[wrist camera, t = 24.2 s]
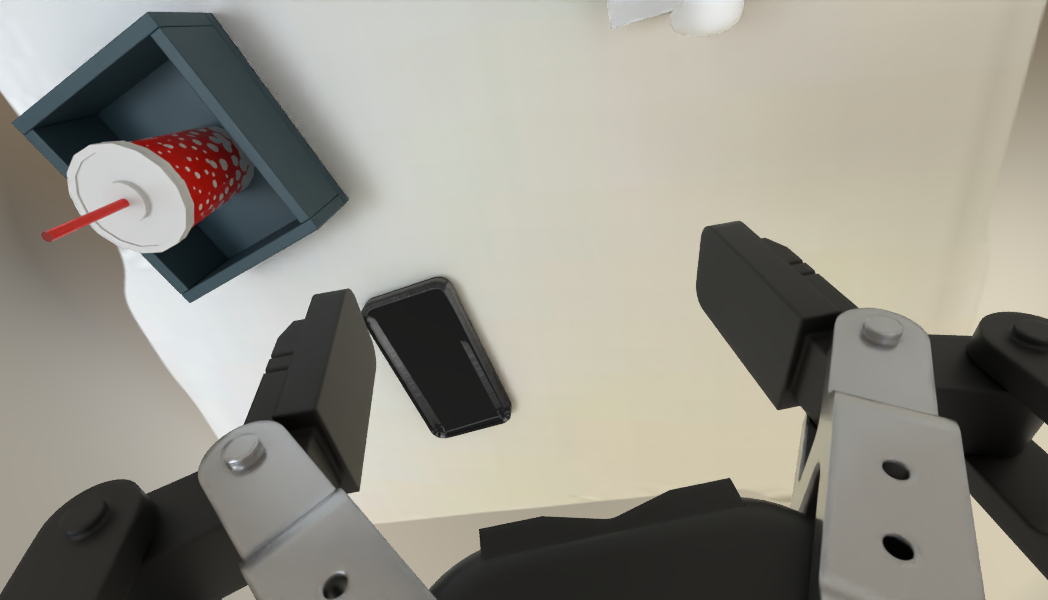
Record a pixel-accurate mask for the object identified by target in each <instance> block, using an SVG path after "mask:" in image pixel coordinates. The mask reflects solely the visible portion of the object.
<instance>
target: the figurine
mask: <svg viewBox="0 0 1048 600" xmlns="http://www.w3.org/2000/svg"><path fill="white" fill-rule="evenodd" d="M606 1H607V7H608V13H609V20H610V26H611V29H614V28H617V27H620V26H624V25H627V24H631V23H634V22H637V21H641V20H644V19H648V18H651V17H654V16H658V15H661V14H665V13H668V12H672V13H671V15H670V26H671V28H672V29H673V30H674V32H676V33H678V34H681V35H687V36H697V37H706V36H712V35H717V34H719V33H722V32H724V31H726V30H728V29H730V28H731V27H733V26H734V25H735V24H736V23H737V22H738V21H739V19H740V17H741V15H742V13H743V9H744V3H745V0H606Z"/></svg>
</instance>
